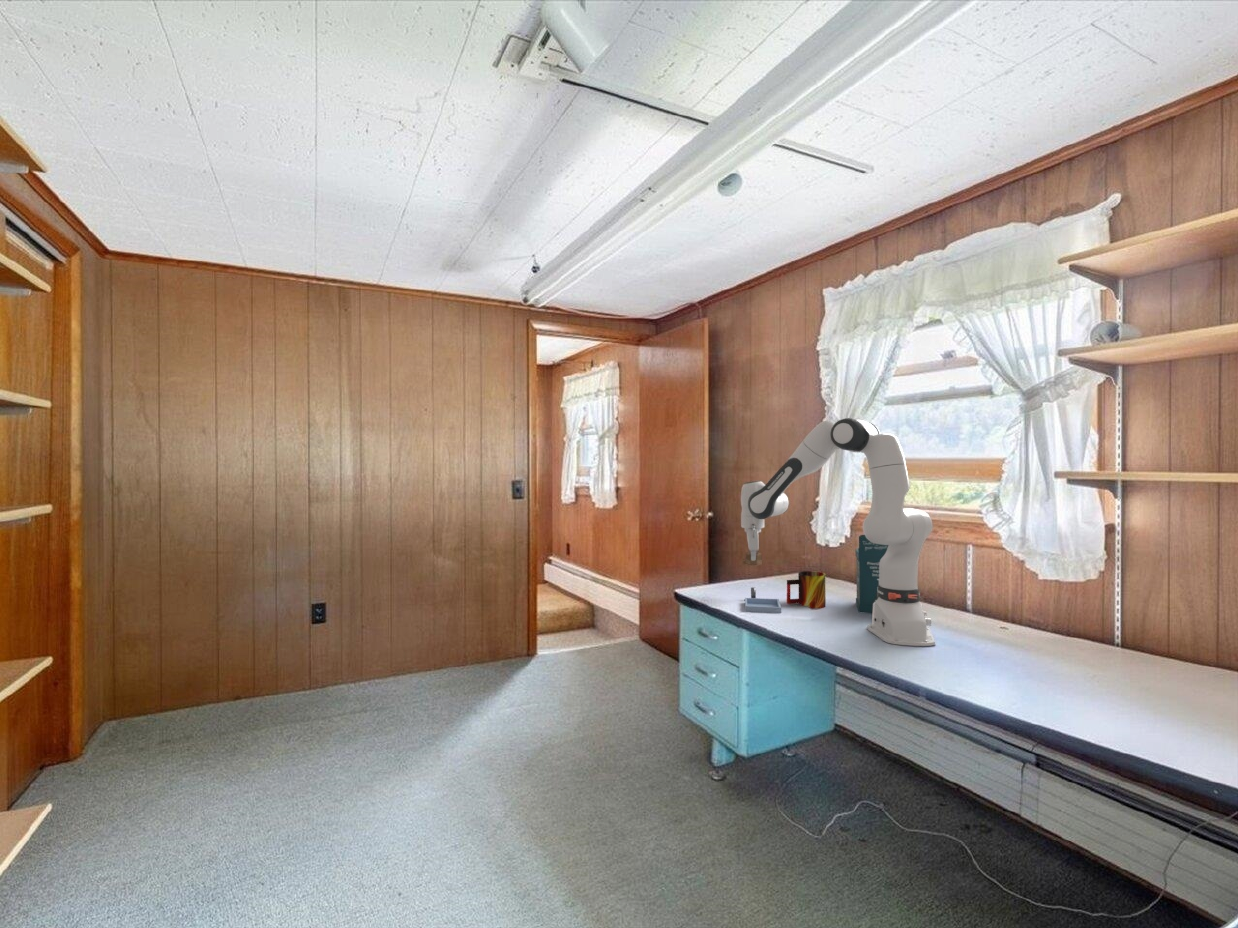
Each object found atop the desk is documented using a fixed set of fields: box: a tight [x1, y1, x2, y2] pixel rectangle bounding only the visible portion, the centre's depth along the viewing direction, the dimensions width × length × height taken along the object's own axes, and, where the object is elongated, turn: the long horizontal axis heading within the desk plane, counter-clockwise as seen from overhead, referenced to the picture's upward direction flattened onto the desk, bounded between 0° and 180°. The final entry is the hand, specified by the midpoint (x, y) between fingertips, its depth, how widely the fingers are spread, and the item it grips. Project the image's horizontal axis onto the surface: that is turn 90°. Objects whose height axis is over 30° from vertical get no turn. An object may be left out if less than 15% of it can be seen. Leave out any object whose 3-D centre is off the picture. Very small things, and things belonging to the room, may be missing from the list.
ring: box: [742, 551, 763, 566], centre depth 224 cm, size 6×7×4 cm
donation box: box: [854, 534, 888, 614], centre depth 213 cm, size 16×16×28 cm
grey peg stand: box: [743, 586, 757, 602], centre depth 224 cm, size 7×7×5 cm
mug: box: [786, 570, 827, 610], centre depth 217 cm, size 10×14×12 cm
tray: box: [744, 597, 782, 614], centre depth 213 cm, size 12×12×2 cm
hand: (753, 558), depth 224 cm, fingers closed on ring, 6 cm apart
